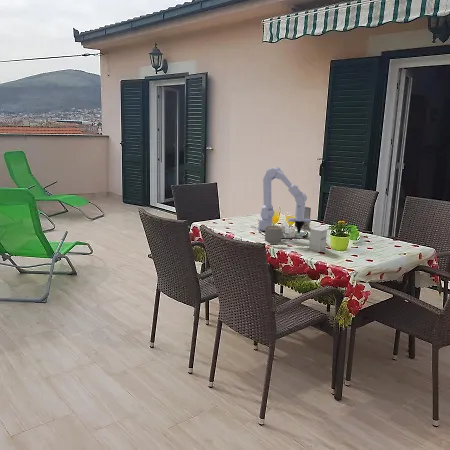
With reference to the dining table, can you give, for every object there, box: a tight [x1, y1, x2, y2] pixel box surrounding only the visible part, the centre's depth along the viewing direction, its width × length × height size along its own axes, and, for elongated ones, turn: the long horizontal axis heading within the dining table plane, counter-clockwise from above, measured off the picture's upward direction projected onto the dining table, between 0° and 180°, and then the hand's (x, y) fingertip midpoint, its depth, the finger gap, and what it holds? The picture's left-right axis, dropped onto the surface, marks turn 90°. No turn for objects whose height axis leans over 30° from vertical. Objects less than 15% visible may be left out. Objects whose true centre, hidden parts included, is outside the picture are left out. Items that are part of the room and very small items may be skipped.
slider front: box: [290, 229, 297, 237], centre depth 296 cm, size 3×3×4 cm
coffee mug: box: [264, 224, 282, 246], centre depth 286 cm, size 13×10×10 cm
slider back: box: [279, 224, 286, 232], centre depth 310 cm, size 3×3×4 cm
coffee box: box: [294, 206, 312, 230], centre depth 325 cm, size 9×6×16 cm
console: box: [281, 230, 304, 240], centre depth 303 cm, size 15×20×2 cm
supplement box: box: [308, 227, 328, 253], centre depth 273 cm, size 7×7×13 cm
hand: (298, 232), depth 303 cm, fingers closed
